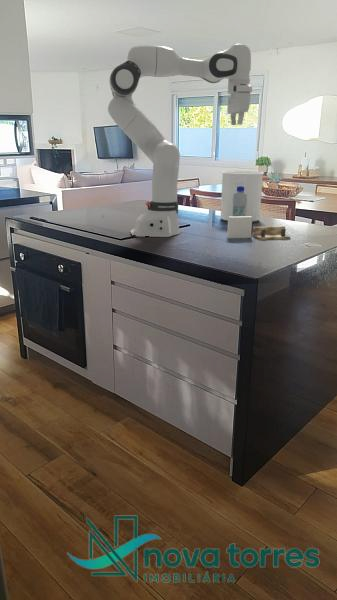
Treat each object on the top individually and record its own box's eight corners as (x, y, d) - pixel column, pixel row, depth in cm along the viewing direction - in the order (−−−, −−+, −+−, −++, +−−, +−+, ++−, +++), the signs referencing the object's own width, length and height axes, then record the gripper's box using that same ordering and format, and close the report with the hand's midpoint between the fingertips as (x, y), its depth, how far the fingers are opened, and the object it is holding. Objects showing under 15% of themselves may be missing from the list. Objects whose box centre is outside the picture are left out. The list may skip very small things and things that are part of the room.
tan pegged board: (258, 239, 190) (259, 230, 188) (251, 235, 199) (252, 226, 198) (290, 239, 192) (291, 229, 190) (281, 234, 201) (282, 225, 200)
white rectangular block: (228, 238, 193) (229, 217, 190) (227, 237, 195) (228, 216, 192) (250, 237, 194) (252, 217, 191) (249, 236, 196) (250, 216, 193)
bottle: (245, 230, 208) (247, 186, 201) (230, 230, 209) (232, 186, 203) (245, 228, 214) (248, 185, 207) (231, 227, 216) (233, 185, 209)
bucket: (232, 215, 251) (235, 169, 243) (268, 219, 239) (272, 171, 231) (209, 221, 231) (211, 172, 223) (247, 226, 220) (250, 174, 211)
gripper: (224, 91, 195) (223, 125, 199) (238, 86, 176) (236, 124, 180) (238, 91, 195) (236, 125, 200) (253, 86, 176) (251, 124, 181)
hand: (236, 124), depth 190 cm, fingers open, 8 cm apart
